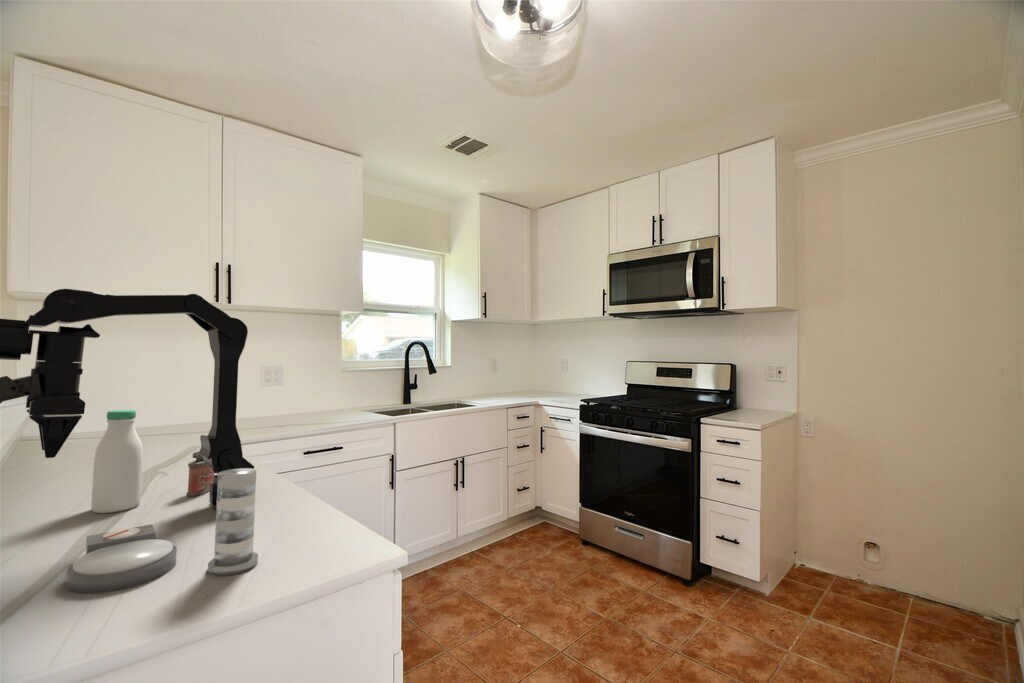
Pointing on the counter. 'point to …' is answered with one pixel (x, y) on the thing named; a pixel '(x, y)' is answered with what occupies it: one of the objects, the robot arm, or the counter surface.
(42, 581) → the counter surface
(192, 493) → the lighter
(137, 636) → the counter surface
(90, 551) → the kitchen scale
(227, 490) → the disc
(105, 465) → the milk bottle
